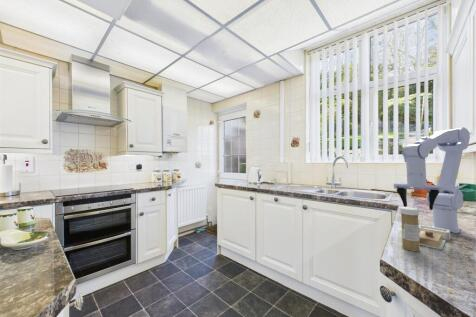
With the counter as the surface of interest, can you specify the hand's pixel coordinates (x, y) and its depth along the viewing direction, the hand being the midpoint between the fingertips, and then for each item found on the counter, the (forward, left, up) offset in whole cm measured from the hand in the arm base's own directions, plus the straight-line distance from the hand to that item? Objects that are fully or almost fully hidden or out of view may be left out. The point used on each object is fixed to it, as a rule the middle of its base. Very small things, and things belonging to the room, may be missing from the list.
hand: (417, 207), depth 79 cm
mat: (+8, +4, -10) cm, 14 cm away
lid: (+8, +4, -10) cm, 13 cm away
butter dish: (-1, +4, -10) cm, 11 cm away
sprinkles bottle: (+20, +1, -11) cm, 23 cm away
